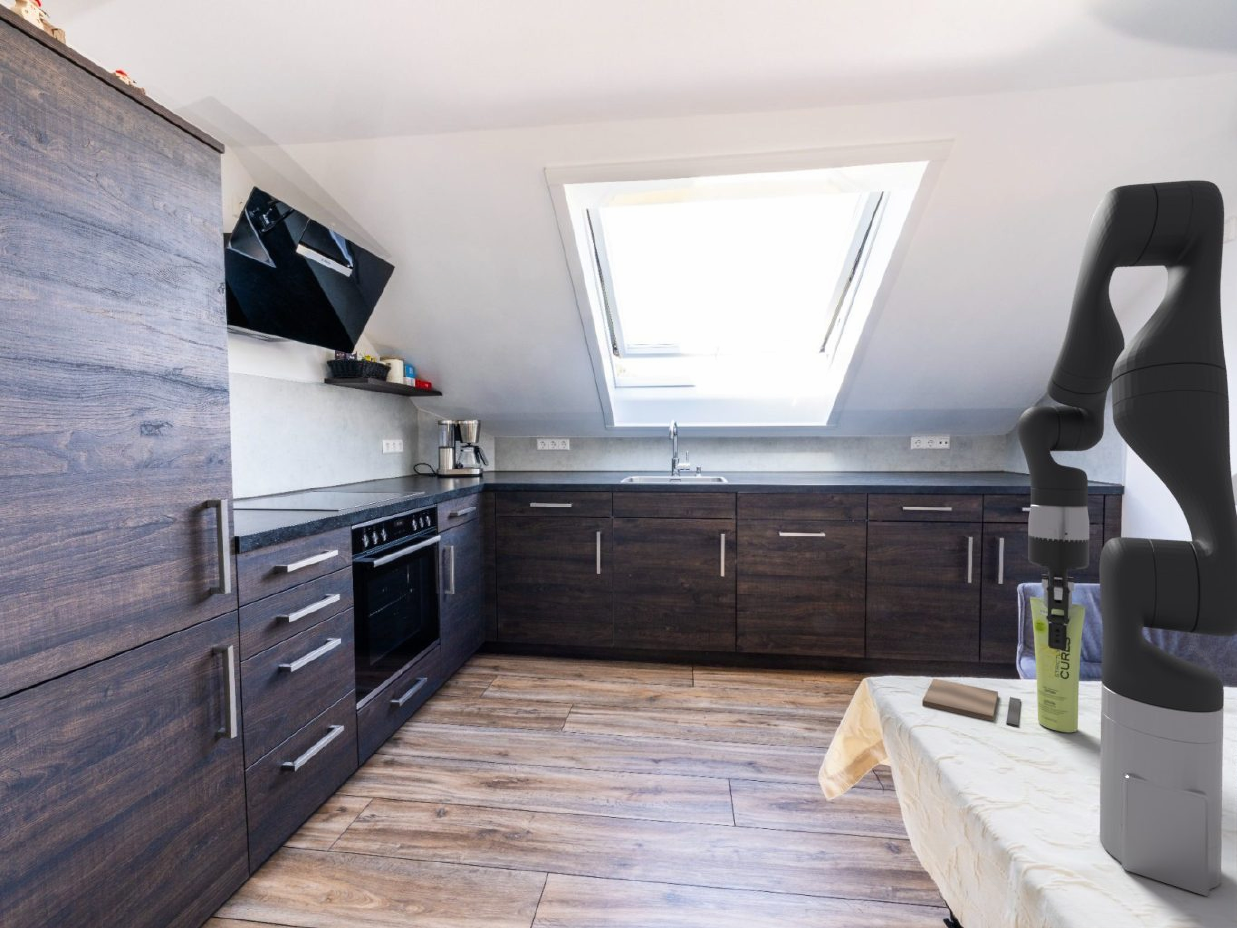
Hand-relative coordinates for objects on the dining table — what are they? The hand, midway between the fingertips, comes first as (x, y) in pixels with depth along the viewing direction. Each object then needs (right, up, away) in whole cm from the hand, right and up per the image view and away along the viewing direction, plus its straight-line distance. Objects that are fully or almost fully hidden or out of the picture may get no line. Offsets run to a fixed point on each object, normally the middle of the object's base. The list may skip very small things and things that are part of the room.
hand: (1056, 644), depth 89 cm
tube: (0, -13, 0) cm, 13 cm away
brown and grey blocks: (-8, -13, +9) cm, 17 cm away
